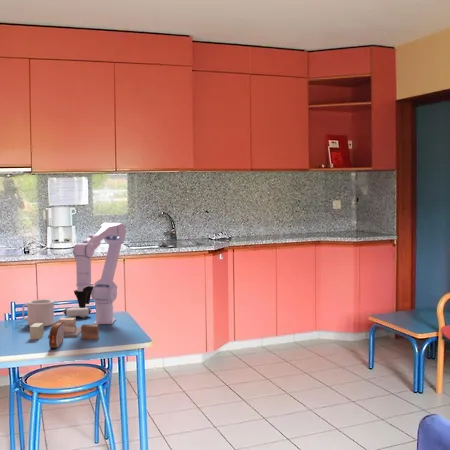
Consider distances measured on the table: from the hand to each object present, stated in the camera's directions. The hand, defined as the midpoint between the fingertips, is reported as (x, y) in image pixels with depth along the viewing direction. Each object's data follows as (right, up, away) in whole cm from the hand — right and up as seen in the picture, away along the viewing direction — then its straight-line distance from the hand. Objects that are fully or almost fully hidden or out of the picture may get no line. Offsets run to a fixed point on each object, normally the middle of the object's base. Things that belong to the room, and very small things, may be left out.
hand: (84, 305), depth 235 cm
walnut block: (+5, -11, -11) cm, 16 cm away
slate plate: (-7, -11, -3) cm, 13 cm away
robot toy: (-10, -9, +29) cm, 32 cm away
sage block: (-16, -11, -9) cm, 22 cm away
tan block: (-6, -10, -3) cm, 12 cm away
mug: (-23, -10, +13) cm, 28 cm away
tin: (-5, -12, -21) cm, 25 cm away
